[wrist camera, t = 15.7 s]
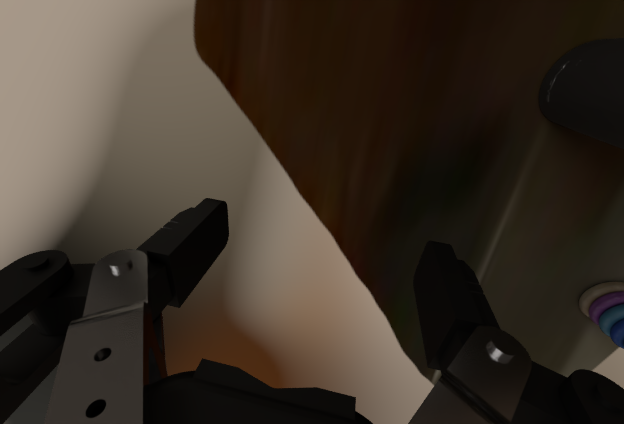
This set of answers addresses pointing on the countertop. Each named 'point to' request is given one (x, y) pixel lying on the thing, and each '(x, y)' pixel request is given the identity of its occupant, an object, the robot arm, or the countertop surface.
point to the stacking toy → (606, 309)
